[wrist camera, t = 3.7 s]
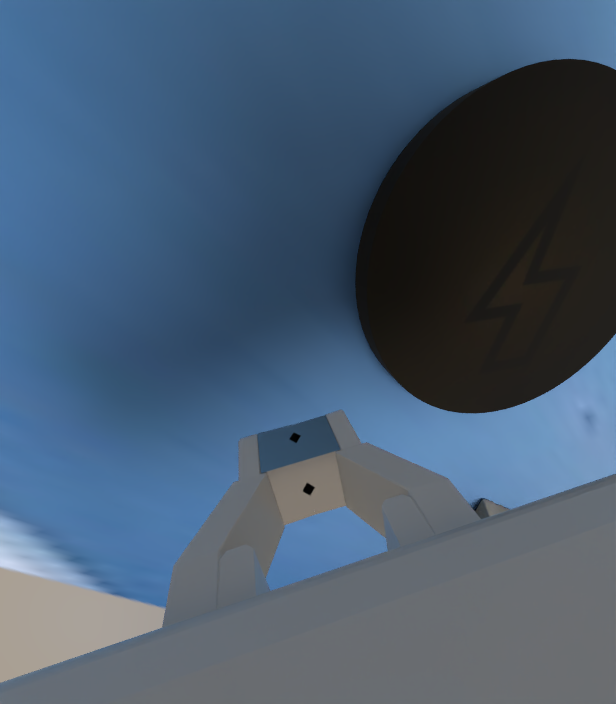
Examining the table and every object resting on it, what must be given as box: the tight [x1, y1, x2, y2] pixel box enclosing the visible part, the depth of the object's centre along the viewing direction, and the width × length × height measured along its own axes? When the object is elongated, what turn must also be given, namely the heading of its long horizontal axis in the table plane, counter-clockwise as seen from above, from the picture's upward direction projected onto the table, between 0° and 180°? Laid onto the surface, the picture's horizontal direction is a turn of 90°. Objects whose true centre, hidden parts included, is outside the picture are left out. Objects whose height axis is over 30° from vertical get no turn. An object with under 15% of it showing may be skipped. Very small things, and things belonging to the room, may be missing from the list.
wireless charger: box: [355, 59, 616, 413], centre depth 18 cm, size 18×18×2 cm
